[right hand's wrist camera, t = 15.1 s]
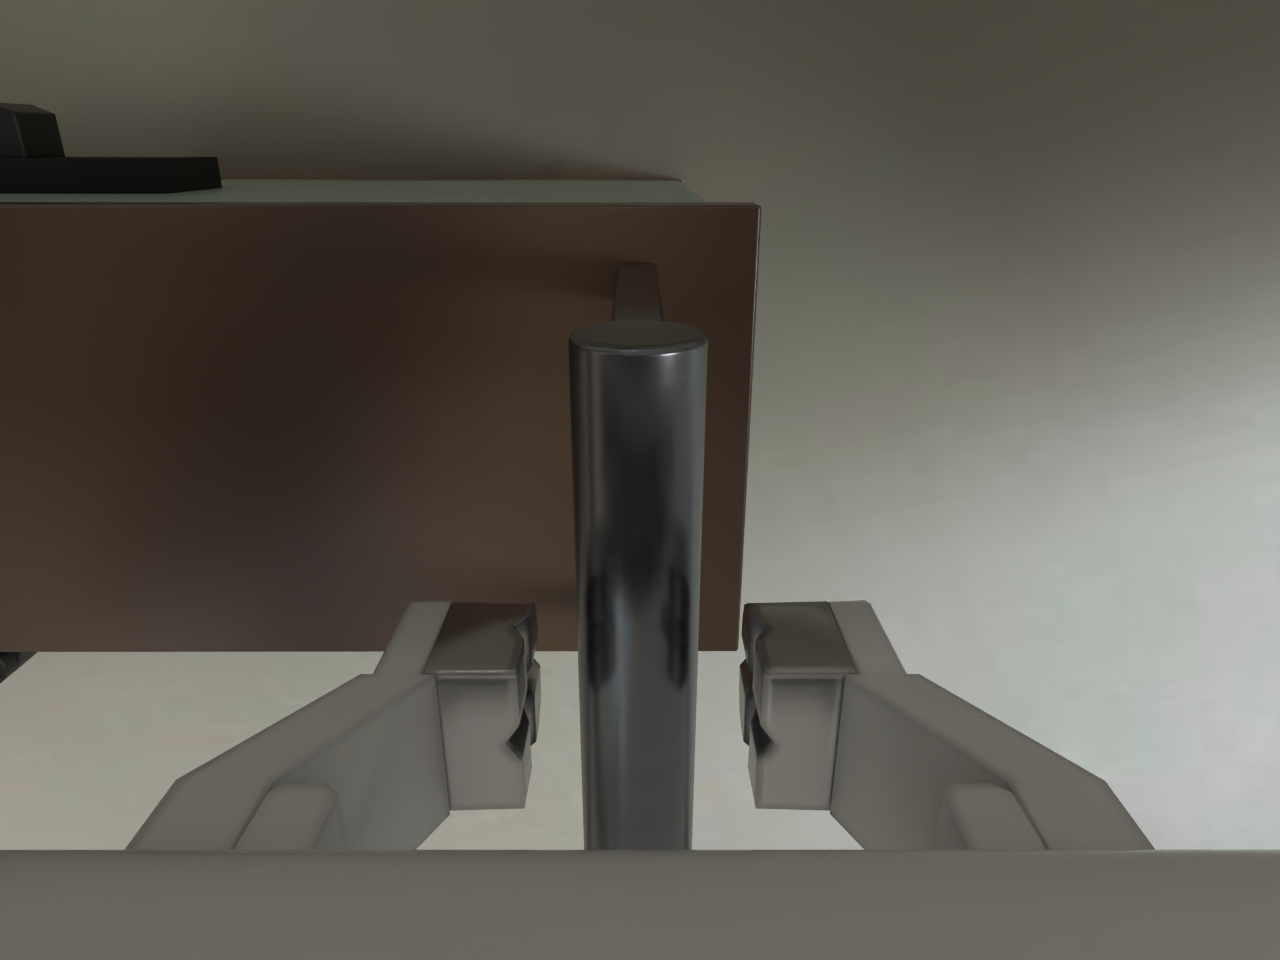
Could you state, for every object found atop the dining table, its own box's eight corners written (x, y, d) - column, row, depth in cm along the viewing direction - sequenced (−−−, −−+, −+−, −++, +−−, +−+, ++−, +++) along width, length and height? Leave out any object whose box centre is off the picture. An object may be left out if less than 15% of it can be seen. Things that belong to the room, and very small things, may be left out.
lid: (755, 202, 16) (872, 257, 8) (733, 629, 20) (800, 962, 12) (-122, 201, 16) (-879, 258, 8) (18, 630, 19) (-410, 966, 12)
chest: (679, 179, 26) (707, 201, 16) (674, 460, 30) (694, 629, 20) (180, 178, 26) (-119, 201, 16) (234, 460, 30) (19, 630, 20)
